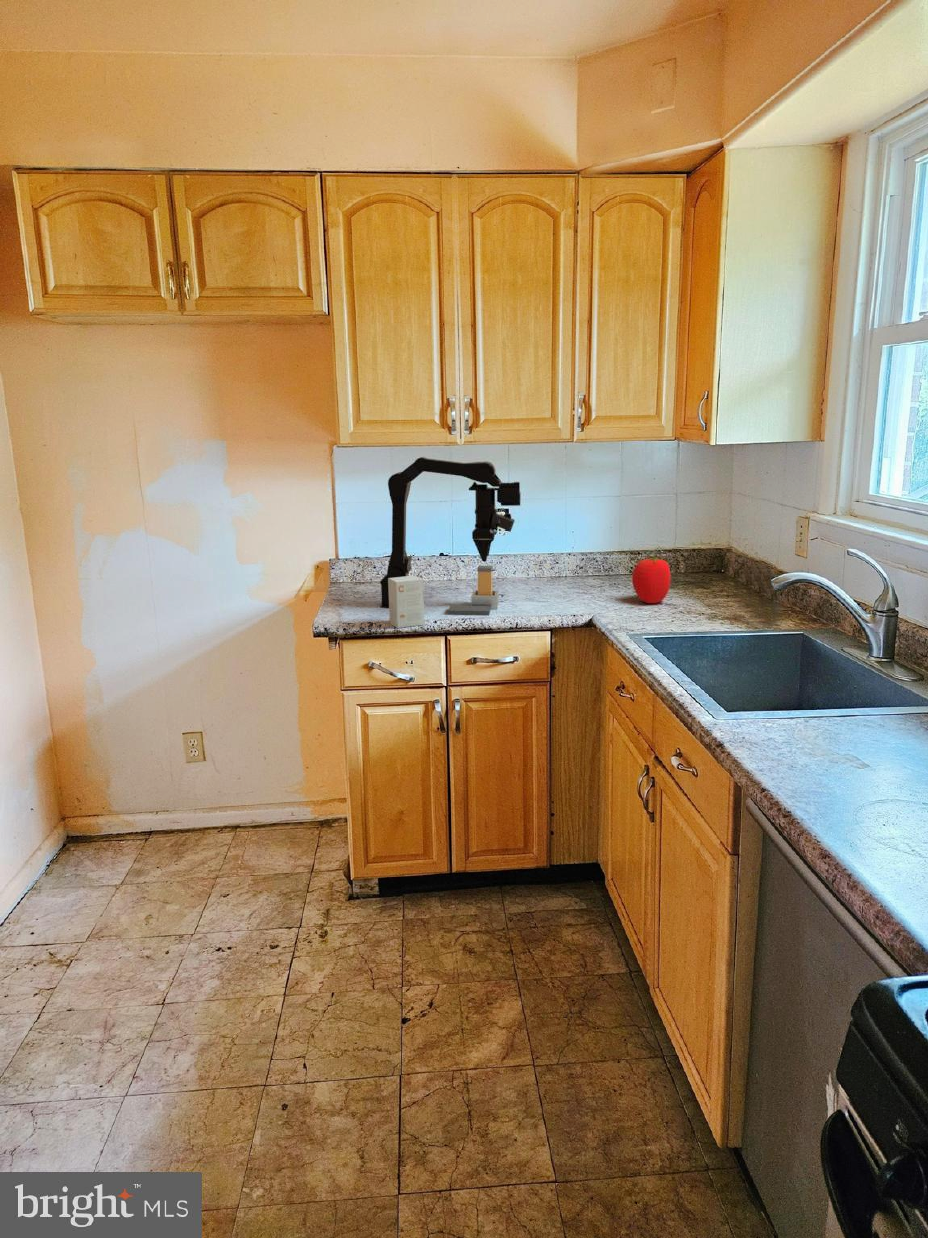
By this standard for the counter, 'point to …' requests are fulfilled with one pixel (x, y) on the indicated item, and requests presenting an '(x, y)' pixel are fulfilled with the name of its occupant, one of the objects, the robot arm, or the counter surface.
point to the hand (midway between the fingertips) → (485, 558)
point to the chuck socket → (485, 599)
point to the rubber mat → (469, 610)
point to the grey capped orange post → (484, 580)
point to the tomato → (651, 580)
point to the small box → (406, 601)
